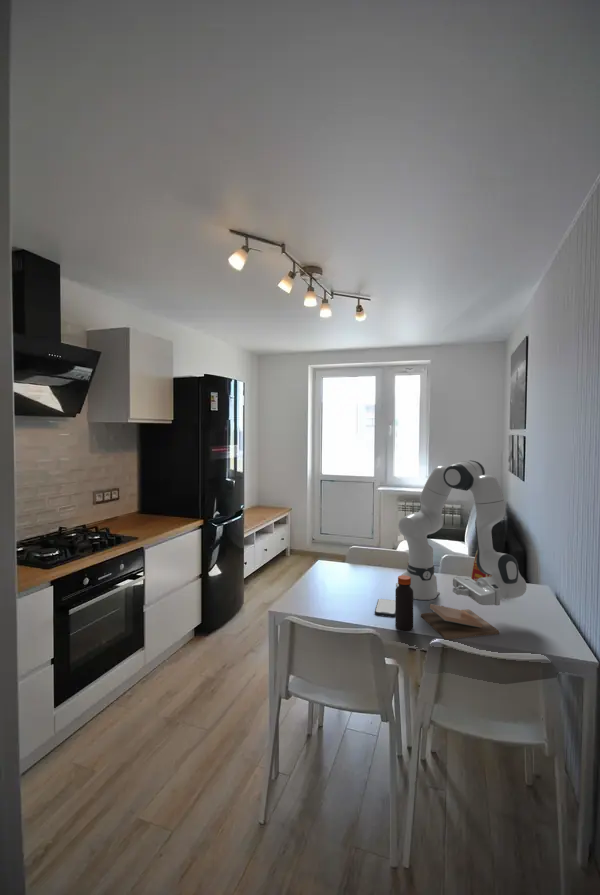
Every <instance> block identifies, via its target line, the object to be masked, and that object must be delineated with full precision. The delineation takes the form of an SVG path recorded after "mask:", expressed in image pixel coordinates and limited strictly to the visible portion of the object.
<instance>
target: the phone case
mask: <svg viewBox="0 0 600 895" xmlns="http://www.w3.org/2000/svg"><path fill="white" fill-rule="evenodd" d="M375 614H377V615H376V616H379V615H384V616H383V617H388V616H391V617H390V618H395V599H393V600H392V599H387V598H386V599H385V598H379V599H377V602H376V605H375V608H374V615H375Z"/></svg>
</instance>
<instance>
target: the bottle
mask: <svg viewBox="0 0 600 895" xmlns="http://www.w3.org/2000/svg"><path fill="white" fill-rule="evenodd" d="M397 583H398V584H399V586H398V587H396V588H395V591H394V592H395V599H394V600H395V617H394V619H395V620H394V621H395V622H394V623H395V625H394V626H395V628H396V629H397V630H398V631H402V632H410V631H412V630H413V629H414V598H413V589H412V588H411V587H410V585H411V577H409V576H406V575H402V574H401V575H399V576H398V577H397Z"/></svg>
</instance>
